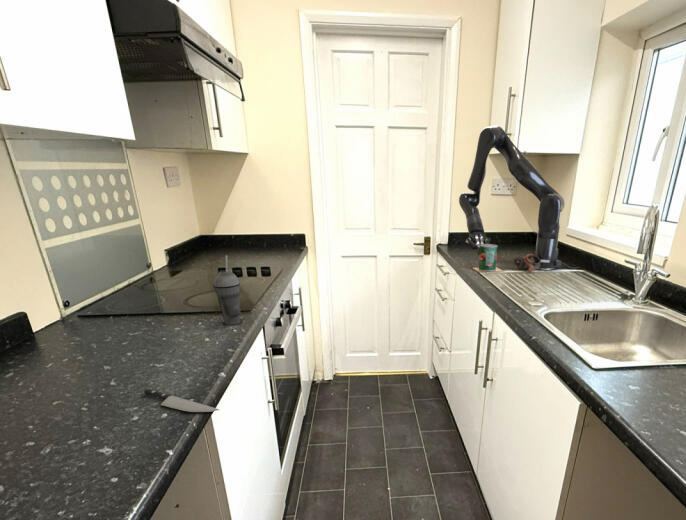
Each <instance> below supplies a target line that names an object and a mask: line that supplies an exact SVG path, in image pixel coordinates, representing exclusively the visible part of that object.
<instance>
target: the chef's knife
mask: <svg viewBox="0 0 686 520" xmlns="http://www.w3.org/2000/svg"><path fill="white" fill-rule="evenodd" d="M144 394H145V395H148V396H149V395H150V396H155V397H159V398H161V399H164V400H163V401H162V402H161V404H160V406H163V407H167V408H171V409H175V410H179V411H183V412H189V413H210V412H217V411H220V409H219V408H216V407H213V406H210V405H206V404H204V403H200V402H196V401H193V400H189V399H186V398H182V397H179V396H174V395H172V394H169V393H165V392H162V391H161V392H160V391H157V390H153V389H150V388H146V389H144Z"/></svg>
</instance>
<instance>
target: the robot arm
mask: <svg viewBox="0 0 686 520" xmlns="http://www.w3.org/2000/svg"><path fill="white" fill-rule="evenodd" d="M492 149H494V150H496V151H497V152H498V153H499V154H500V155H501V156H502V158H503V159H504V162H505V164H506V167H507V170H508V172H509V174H510V175H511V176H512V177H513V179H514V180H515V181H516V182H517V183H518V184H519V186H521V187H523V188H524V189H526V190H527V191H528V192H530V193H531V194H533V196H534V197H536V199H537V200H538V201H539V202H540V203H539V207H538V216H537V227H538V229H537V235H536V236H537V237H536V244H535V252H534V255H536V256H537V257H539V258H540V260H541V263H540V267H539V268H538V269H537V270H540V271H553V270H556V269H557V267H561V266H562V265H563V266H566V268H567V269H570V270H576V269H580V268H581V266H573V267H572V266H569V265H568V264H567V263H565V262H563V261H562V260H559V259H558V256H559V248H558V245H559V244H558V243H559V236H560V229H561V225H560V215H561V213H562V212H563V210H564V209H565V205H566V203H565V199H564V197H563V196H562V195H561V194H560V193H559V192H558V191H557V190H555V188H553V187H552V186H551V185H550V184H549V183H548V182H547V181H546V180H545V178H544V177H543V175H542V174H541V173H540V172H539V171H538V169H537V168H536V167H535V166H534V164H533V163H532V162H531V161H530V160H529V159H528V158H527V157H526V156H525V155H524V154H523V153H522V151H521V150H520V149H519V148H518V147H517V146H516V145H515V143H513V141H512V140H511V137H509V136H508V134H507V132H506V131H505V130H504V129H503V127H501V126H500V125H491V126H486V127H485V128H483V129H482V130H481V131H480V132H479V136H478V140H477V146H476V152H475V156H474V162H473V165H472V170H471V173H470V176H469V179H468V181H467V189H468V190H470V191H472V192H462V193H461V194H460V195H459V197H458V204H459V206H460V209H461V210H462V212H463V214H464V215H465V219H466V228H467V232H468V237H467V238H466V239H465V244H466V245H468V246H469V247H470V248H471V249H472V250H476V252H477V256H478V257H480V245H482V244H490V242H491V240H492V238H491V237H487V235H486V233H485V229H484V225H483V219H482V218H481V214H480V209H479V207H478V206H479V204H480V202H481V192H482V186H483V184H484V182H485V178H486V174H487V160H488V157H489V155H490V153H491V151H492ZM484 241H485V243H484ZM534 263H538V261H536V260H534V259H533V264H534Z"/></svg>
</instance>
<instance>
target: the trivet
mask: <svg viewBox="0 0 686 520" xmlns="http://www.w3.org/2000/svg"><path fill="white" fill-rule="evenodd" d="M472 269H473V270H475V271H476V272H477V273H489V272H491V273H492V272H504V270H503V269H501V268H499V267H498V266H496V270H494V271H483V270H479V266H478V267H472Z"/></svg>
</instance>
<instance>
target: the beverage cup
mask: <svg viewBox="0 0 686 520" xmlns="http://www.w3.org/2000/svg"><path fill="white" fill-rule="evenodd" d="M224 257H225V259H224V260H225V270H221V271H219V272H217V273H216V274H215V276H214V278H213V280H212V287H213V289H214V292H215V294H216V297H217V301H218V304H219V308H220V312H221V315H222V319H223V322H224V324H225V325H228V326H231V325H237V324H240V323H241V320H242V319H241V299H240V289H241V288H240V287H241V286H240V285H241V283H240V281H239V278H238V276H237V275H236V274H235V273H234V272H232V271H229V269H228V268H229V267H228V266H229V265H228V264H229V263H228V254H227V255H225V256H224Z"/></svg>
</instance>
